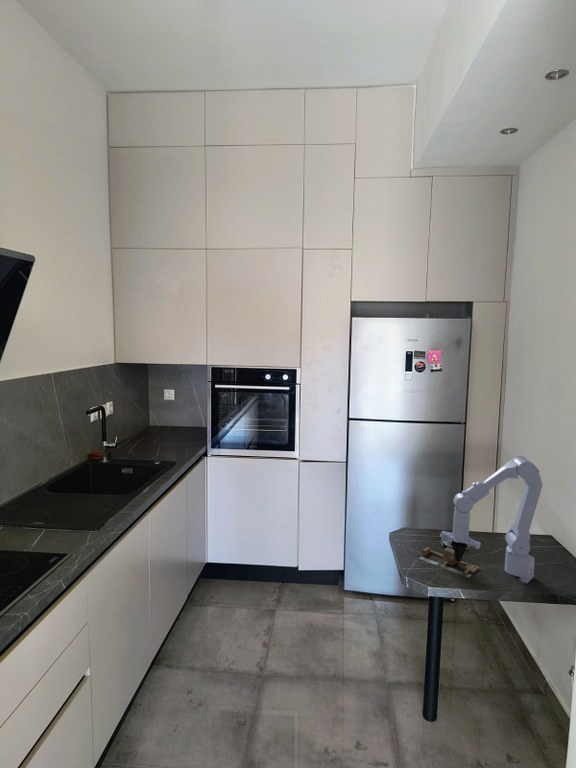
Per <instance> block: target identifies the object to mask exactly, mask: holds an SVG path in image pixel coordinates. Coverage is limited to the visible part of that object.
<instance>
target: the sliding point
mask: <svg viewBox="0 0 576 768" xmlns="http://www.w3.org/2000/svg"><path fill="white" fill-rule="evenodd" d="M442 554H443V558H442V564H443V565H446V566H447V565H449V566H455V565H456V564H458V563H457V561H456V557H455V553H454V550H453V548H452V547H449V546H446V547H445V548H444V549H443V553H442Z"/></svg>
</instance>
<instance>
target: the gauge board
mask: <svg viewBox="0 0 576 768" xmlns="http://www.w3.org/2000/svg"><path fill="white" fill-rule="evenodd" d="M421 553H422V554H421V555H422V556H420V557H419V558H418V560H421V561H423V562H426V563H429V564H431V565H433V566H436V567H440V568H442V569H444V570H448V571H449V572H453V573H455V574H458V575H461V576H463V577H465V578H470V577H471V576H473V574H474V573H476V572H477V571H479V570H480V566H477V565H474V564H471V563H468V562H465V561H460V562H458V561H457V563H456V564H459V565H463V566H464V568H463V571H461V570H458V569H456V568H453V567H451V566H448V565H447V564H446V565H443V563H440V562H437V561H434V560H432V559H429V558H426V556H429V554H432V555H435V556H437V557H439V558H442V559H443V554H444V553H440V552H437V551H434V550H431V547H429V546H428V547H425V548H423V549H422V552H421ZM470 573H471V574H470Z"/></svg>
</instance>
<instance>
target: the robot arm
mask: <svg viewBox="0 0 576 768" xmlns="http://www.w3.org/2000/svg"><path fill="white" fill-rule="evenodd" d="M519 477H520V478H521V479H522V481H523V482H524V484H525V486H524V490H523V492H522V496H521V499H520V502H519V506H518V510H517V512H516V513H517V514H516V517H515V520H514V522H513V524H512V525H511V526H510V528H509V530H508V531H507V532H506V534H505V535H504V539H505V543H506V544H507V546H506V547H505V548H506V549H505V560H504V571H505V573H507V574H509V575H511V576H515V577H519V578H518V580H517V581H518V582H521V583H523V584H528V583H529V582H530V581H531V580H533V578H534V577H535V575H534V572H535V570H534V569H535V557H534V556H532V555H530V554H529V553H530V551H531V545H530V541H531V534H530V529H531V525H532V522H533V518H534V515H535V512H536V509H537V505H538V502H539V499H540V495H541V492H542V489H543V481H542V478H541V474H540V470H539V468H538V467H537V466H536V465H535V464H534V462H531V461H530V460H528V459H527V458H526V457H525V456H522V455H517V456H515V457H513V458H512V460H511V459H510V460H508V461H507V462H506V463H505V464H504V465H503V466H502V467H500V468H499V469H498V470H497V471H495V472H494V473H492V475H490V476H489V477H488V478H487V479H485V480H484V481H477V482H476V481H474V482H473V483H471V486H470V487H468V488H467V489H466V490H461V493H460V492H459V493H456V494H455V496H454V497H453V499H452V501H453V504H454V510H453V511H454V512H453V521H452V522H453V523H452V532H450V531H445V530H443V531H441V532H440V534H441V536H440V538H441V537H443V538H444V537H445V538H448V539H451V540H452V542H451V546H452V547H453V548H452V547H451V548H452V549H453V550H454V553H455V557H456V561H458V562H460V561H462V560H463V556H464V554H465V552H466V551H467V550H466V548H467V547H468V545H469V546H470V547H473V548H475V549H477V550H478V549H480V548H481V542H480V541H477V540H475V539H473V538H471V537H470V535H469V534H470V520H471V511H473V506H474V505H476V504H477V503H478V502H480V501H482V500H483V499H484V498H486V497H487V496H488V495H489V494H490V490H491V489H493V488H495V487H496V486H498V485H500V484H501V483H503V482H504V481H505V480H507V479H519ZM468 548H469V547H468Z"/></svg>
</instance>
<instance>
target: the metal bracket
mask: <svg viewBox="0 0 576 768" xmlns="http://www.w3.org/2000/svg"><path fill="white" fill-rule="evenodd" d="M439 536H440V538H441V539H440V543H439V544H440V545H441V546H442V547H443V546H444V545H445V546H446V547H448V548H451V549H453V547H452V546H451V542H452V540H451V539H448V538H445V537H444V538H443V537H441V533H440V534H439ZM470 547H471V546H469V545H468V547H467V548H466V550H465V551H467V550H469V548H470Z"/></svg>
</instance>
